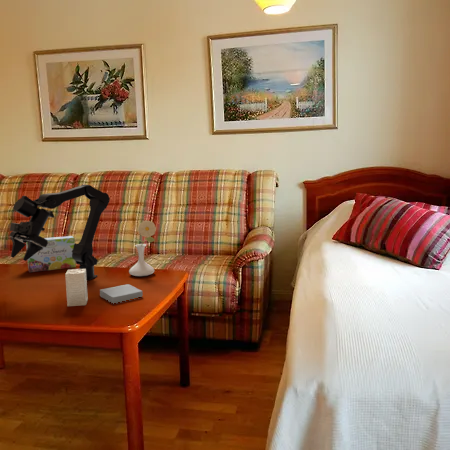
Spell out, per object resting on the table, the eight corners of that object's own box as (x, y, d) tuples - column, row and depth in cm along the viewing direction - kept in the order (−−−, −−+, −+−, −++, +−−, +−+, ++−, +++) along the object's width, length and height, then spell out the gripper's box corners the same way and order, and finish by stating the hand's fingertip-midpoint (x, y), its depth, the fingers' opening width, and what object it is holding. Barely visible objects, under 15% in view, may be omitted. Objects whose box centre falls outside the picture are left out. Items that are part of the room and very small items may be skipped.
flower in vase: (126, 278, 195) (123, 222, 191) (132, 271, 206) (130, 218, 203) (155, 278, 195) (153, 222, 191) (160, 271, 206) (158, 218, 202)
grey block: (100, 297, 171) (99, 289, 171) (128, 291, 178) (128, 284, 178) (113, 305, 162) (112, 297, 161) (142, 298, 169) (142, 291, 169)
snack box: (29, 273, 206) (26, 241, 204) (28, 270, 211) (25, 239, 209) (76, 267, 216) (74, 236, 213) (74, 264, 221) (72, 235, 218)
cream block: (70, 300, 166) (67, 269, 164) (87, 299, 167) (85, 268, 165) (67, 306, 160) (65, 274, 158) (85, 305, 161) (83, 273, 159)
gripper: (7, 211, 175) (-13, 247, 170) (32, 215, 164) (12, 253, 159) (30, 224, 183) (12, 258, 178) (56, 228, 172) (37, 265, 167)
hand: (18, 258), depth 170 cm, fingers open, 9 cm apart
